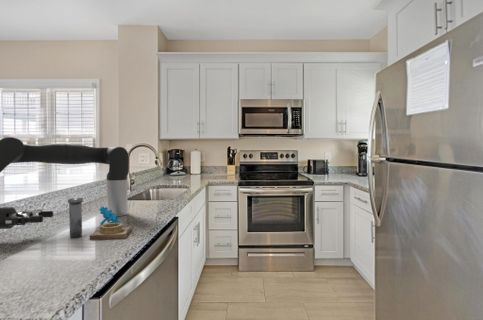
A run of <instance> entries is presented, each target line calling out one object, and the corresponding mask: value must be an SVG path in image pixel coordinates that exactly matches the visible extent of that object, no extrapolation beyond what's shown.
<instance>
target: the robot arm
mask: <svg viewBox="0 0 483 320" xmlns="http://www.w3.org/2000/svg"><path fill="white" fill-rule="evenodd" d="M129 161H130V157H129V153H128V151H127V149H126V148H125V147H122V146H110V147H107V146H106V147H94V146H88V145H84V144H78V143H68V142H67V143H66V142H54V143H46V144H26V143H23V141H22V140H21V139H19V138H17V137H16V136H15V137H14V136H7V137H3V138H1V139H0V173H1V172H3V170H5V169H6V168H7V167H8V166H9V165H10V164H15V163H16V164H17V163H43V164H44V163H45V164H55V165H56V164H57V165H82V164H83V165H84V164H85V165H86V164H92V163H93V164H95V163H96V164H103V165H109V166H108V167H109V169H108V172H107V174H106V207H107V208H108V211H109V210H112V212H111V213H114V212H115V213H116V217H122V216H126V215H128V174H129V165H130V164H129V163H130V162H129ZM53 217H54V211H53V210H43V209H31V210H27V209H26V210H19V212H17V210H16V208H15V207H12V206H8V207H7V206H5V207H3V206H2V207H0V230H10V229H13V228H14V227H15V226H25V225H29V224H34V223H36V224H37V223H38V224H39V223H43V222H44V218H53Z"/></svg>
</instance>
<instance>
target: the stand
mask: <svg viewBox="0 0 483 320" xmlns="http://www.w3.org/2000/svg"><path fill="white" fill-rule="evenodd" d="M123 225H124V224H123V223H121V222H119V223H111V222H107V223H103V224H100V225H99V227H97V228H96V229H95V230H94V231H93V232H92V233H90V235H89V240H90V241H95V240H112V239H114V240H115V239H116V240H117V239H126V238H127V237H128V236H129V233H130V232H131V229H132V226H131V225H124V226H123Z"/></svg>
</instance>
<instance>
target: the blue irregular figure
mask: <svg viewBox="0 0 483 320" xmlns="http://www.w3.org/2000/svg"><path fill="white" fill-rule="evenodd" d="M98 210H99V211H100V212H99V213H100V214H101V215H102V218H103V220H102V221H101V222H100V225H103V224H105V223H106V222H107V223H120V220H119V216H116V213H115V212H114V213H111V212H112V210H109V211H108V208H107V206H106V207H105V206H101V207H100V208H99V209H98Z"/></svg>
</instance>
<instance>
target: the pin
mask: <svg viewBox="0 0 483 320" xmlns="http://www.w3.org/2000/svg"><path fill="white" fill-rule="evenodd" d="M83 199H84V198H83V197H71V198H68V199H67V203H68V206H69V208H68V209H69V210H68V213H69V214H68V215H69V216H68V217H69V219H68V220H69V221H68V222H69V239H73V240H74V239H80V238H82V237H83V216H82V215H83V214H82V211H83V210H82V209H83V208H82V207H83V206H82V205H83V204H82V203H83V202H84V200H83Z"/></svg>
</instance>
